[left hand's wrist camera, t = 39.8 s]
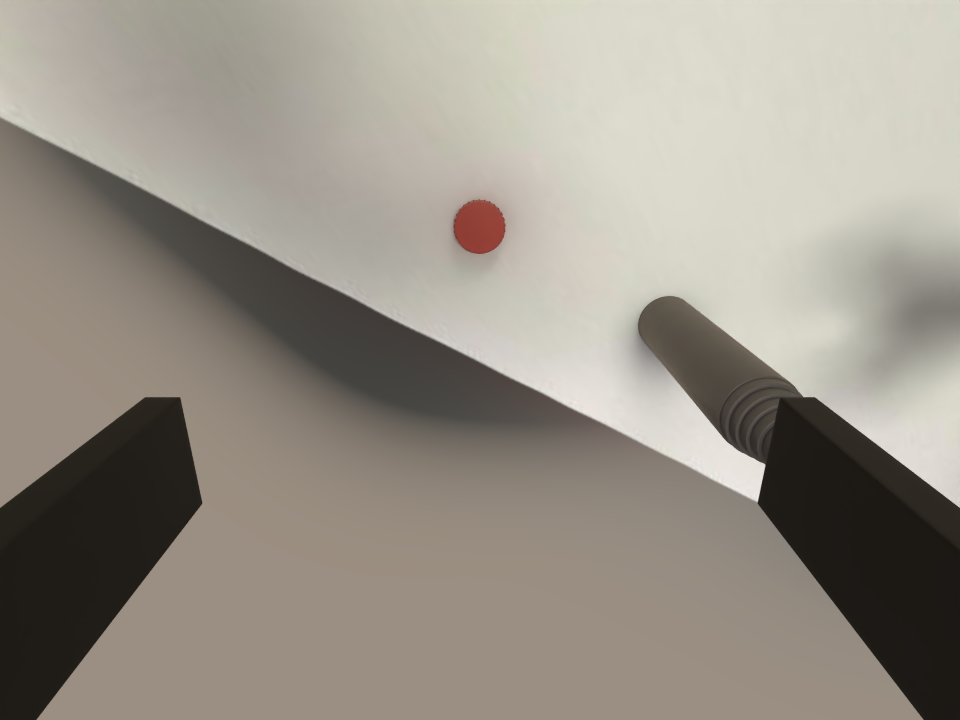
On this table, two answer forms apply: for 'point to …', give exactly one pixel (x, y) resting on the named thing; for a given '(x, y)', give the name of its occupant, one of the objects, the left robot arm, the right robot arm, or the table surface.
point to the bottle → (716, 374)
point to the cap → (479, 226)
